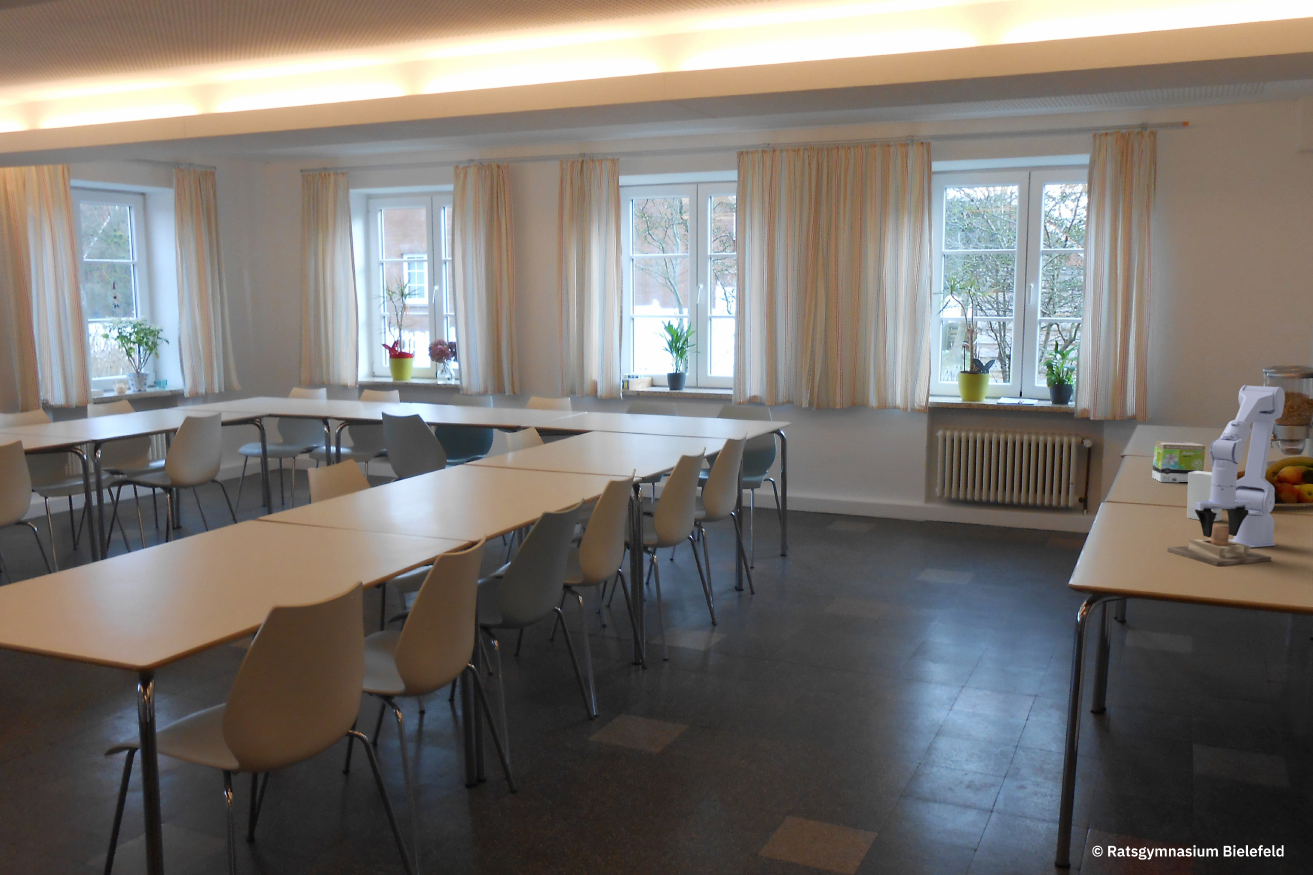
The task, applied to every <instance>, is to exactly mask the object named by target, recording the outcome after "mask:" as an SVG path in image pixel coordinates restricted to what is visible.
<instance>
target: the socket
mask: <svg viewBox="0 0 1313 875" xmlns="http://www.w3.org/2000/svg"><path fill="white" fill-rule="evenodd" d="M1229 540H1230V539H1228V546H1217V545H1213V544H1211V537H1207V538H1198V539H1197V538H1196V539H1189V540H1188V545H1184V546H1182V545H1181V546H1171V547H1167V552H1168V551H1169V552H1168V553H1171V552H1172V554H1175V555H1177V556H1182V557H1186V558H1189V559H1192V560H1196V561H1199V562H1202V563H1206V564H1209V565H1212V566H1215V567H1217V566H1218V567H1219V566H1228V565H1230V566H1231V565H1239V564H1240V565H1242V564H1249V563H1262V562H1270V561H1272V556H1269V555H1266V554H1262V553H1258V552H1254V551H1251V548H1250V546H1248V545H1245V544H1241V543H1237V542H1233V541H1229Z"/></svg>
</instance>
